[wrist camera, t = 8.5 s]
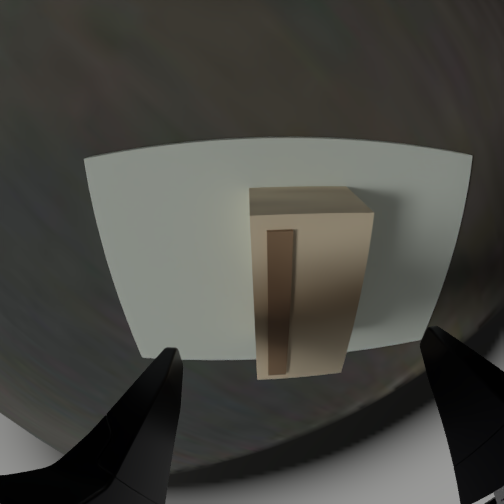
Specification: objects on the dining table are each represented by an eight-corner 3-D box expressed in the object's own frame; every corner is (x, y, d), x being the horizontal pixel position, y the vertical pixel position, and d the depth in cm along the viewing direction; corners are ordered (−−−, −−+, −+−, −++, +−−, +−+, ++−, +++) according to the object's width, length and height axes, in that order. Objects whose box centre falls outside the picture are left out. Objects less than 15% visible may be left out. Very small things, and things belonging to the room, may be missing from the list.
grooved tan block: (328, 330, 15) (341, 374, 12) (255, 335, 15) (257, 382, 12) (346, 186, 11) (376, 214, 9) (248, 187, 11) (249, 217, 9)
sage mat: (466, 153, 11) (472, 155, 10) (418, 334, 17) (421, 339, 16) (89, 156, 11) (83, 159, 10) (144, 351, 17) (142, 357, 16)
